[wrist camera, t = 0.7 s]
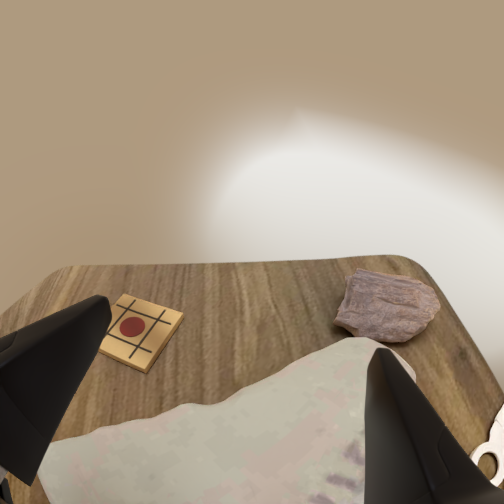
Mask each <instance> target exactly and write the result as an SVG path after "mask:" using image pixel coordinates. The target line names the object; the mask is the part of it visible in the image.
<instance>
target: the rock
mask: <svg viewBox="0 0 504 504" xmlns="http://www.w3.org/2000/svg"><path fill="white" fill-rule="evenodd" d="M345 282H346V291H345V298H344V300H343V301H342V303H341V305H340V306H339V308H338V309H337V312H338V314H337V316H336V318H335V319H334V322H333V325H336V326H341V327H344V328H345V329H347V331H350V332H351V333H352V334H353V335H354V337H367V338H369V339H372V340H374V341H378V342H381V341H382V342H383V341H385V342H405V341H407V340H409V339H411V337H413V336H415V335H417V334H419V333H421V332H422V331H423V330H424V329H425V328H426V327H427V324H428V323H429V322H430V321H432V320H433V317H434V315H435V313H436V312H438V311H439V310H440V306H441V305H440V303H439V300H438V298H437V295H436V294H435V293H434V289H432V288H431V287H429V286H427V285H424V284H423V283H422V282H421V281H419V280H417V279H415V278H412V277H408V276H403V275H401V276H400V275H390V274H384V273H380V272H376V271H367V270H364V269H361V268H356V272H355V274H354V275H352V276H345Z"/></svg>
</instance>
